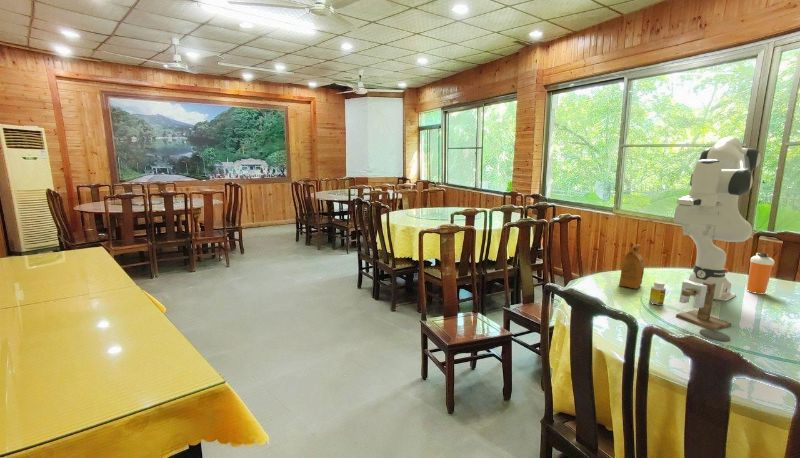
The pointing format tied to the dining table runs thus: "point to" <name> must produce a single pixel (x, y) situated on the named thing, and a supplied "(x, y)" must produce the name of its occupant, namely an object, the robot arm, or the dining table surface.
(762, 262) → the shaker bottle
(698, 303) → the c link
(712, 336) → the felt pad
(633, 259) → the coffee package
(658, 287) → the supplement bottle
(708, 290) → the hook stand
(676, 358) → the dining table surface
